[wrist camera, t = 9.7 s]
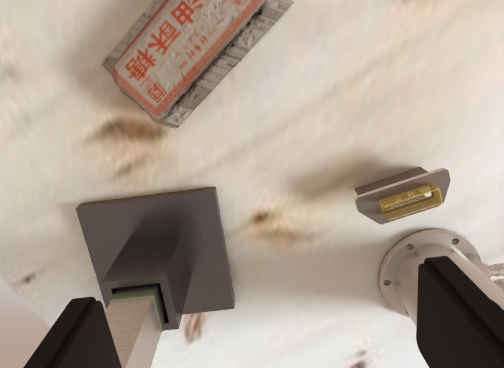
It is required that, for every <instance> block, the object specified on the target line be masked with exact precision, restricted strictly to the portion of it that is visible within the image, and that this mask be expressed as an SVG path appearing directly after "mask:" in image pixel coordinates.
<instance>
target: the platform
mask: <svg viewBox="0 0 504 368" xmlns="http://www.w3.org/2000/svg"><path fill="white" fill-rule="evenodd" d="M449 183H450V176H449V171H448V170H446V169H445V168H440V169H437V170H434V171H431V172H427V171H426V170H424V169H423V168H421V167H419V168H416V169H413V170H410V171H407V172H404V173H401V174H398V175H395V176H392V177H389V178H386V179H383V180H380V181H377V182H374V183H371V184H368V185H365V186H362V187H359V188H356V189H355V191H356V192H357V194H358V196H356V197H355V199H354V201H355V205H356V208H357V210H358V211H359V212H360V213H362V214H364V215H365V216H367V217H369V218H370V219H372V220H374V221H375V222H377V223H379V224H384V223H387V222H390V221H394V220H397V219H400V218H403V217H406V216H409V215H412V214H415V213H419V212H422V211H425V210H428V209H431V208H434V207H437V206H439V205H441V204H442V203H443V202H444V200H445V197H446V193H447V190H448V187H449ZM429 185H430V186H429ZM424 187H425V188H426V187H427V188H426V189H427V190H426V189H425V188H424ZM429 187H430V188H431V189H430V188H429ZM420 188H421V189H422V188H423V189H422V190H423V191H422V190H421V189H420ZM418 189H419V190H418ZM424 189H425V190H426V191H427V192H426V191H425V190H424ZM429 189H430V190H431V191H430V190H429ZM420 190H421V191H422V192H423V193H422V192H421V191H420ZM407 192H408V193H409V192H410V193H409V194H410V195H409V194H408V193H407ZM414 192H415V193H414ZM429 192H431V193H432V195H431V196H430V197H428V198H427V197H426V196H424V195H423V194H426V193H429ZM413 193H414V194H415V195H416V196H415V195H414V194H413ZM407 194H408V195H409V196H410V197H409V196H408V195H407ZM413 195H414V196H413ZM420 195H421V196H422V195H423V196H424V197H423V196H422V197H423V198H424V199H423V198H422V197H421V196H420ZM415 197H416V198H417V197H418V198H417V199H418V200H417V199H416V198H415ZM420 197H421V198H422V199H421V198H420ZM414 198H415V199H416V200H417V201H416V200H415V199H414ZM397 199H398V200H399V201H398V200H397ZM408 199H409V200H410V201H411V202H410V201H409V200H408ZM413 199H414V200H415V201H416V202H415V201H414V200H413ZM420 199H421V200H420ZM396 200H397V201H396ZM405 200H406V201H407V200H408V201H409V202H410V203H409V202H408V201H407V202H408V203H409V204H408V203H407V202H406V201H405ZM401 201H402V202H403V203H404V204H405V205H404V204H403V203H402V202H401ZM413 201H414V202H413ZM398 202H399V203H400V202H401V203H402V204H403V205H404V206H403V205H402V204H401V203H400V204H401V205H402V206H401V205H400V204H399V203H398ZM405 202H406V203H407V204H406V203H405ZM397 203H398V204H399V205H400V206H401V207H400V206H399V205H398V204H397ZM393 204H394V205H395V206H396V207H397V208H396V207H395V206H394V205H393ZM392 205H393V206H394V207H395V208H394V207H393V206H392ZM391 206H392V207H393V208H394V209H393V208H392V207H391ZM390 207H391V208H392V209H391V208H390ZM387 209H388V210H387ZM389 209H390V210H389ZM386 210H387V211H386Z"/></svg>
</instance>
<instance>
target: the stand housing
mask: <svg viewBox="0 0 504 368" xmlns="http://www.w3.org/2000/svg"><path fill="white" fill-rule="evenodd" d="M76 211H77V214H78V217H79V221H80V224H81V227H82V230H83V234H84V237H85V240H86V244H87V247H88V250H89V253H90V257H91V260H92V263H93V266H94V270H95V273H96V276H97V279H98V283H99V286H100V289H101V293H102V296H103V299H104V302H105V306H106V309H107V308H108V306H109V304H110V299H111V297H112V295H113V294H115V293H116V291H117V289H118V288H121V287H130V286H138V285H147V284H155V283H160V287H161V291H162V295H163V299H164V303H165V307H166V311H167V314H166V318H165V321H164V323H165V326H164V329H163V330H172V329H179V325H180V321H181V317H182V314H190V313H199V312H208V311H217V310H225V309H234V306H235V300H234V294H233V288H232V282H231V276H230V270H229V264H228V258H227V252H226V246H225V240H224V234H223V228H222V222H221V216H220V210H219V204H218V198H217V192H216V187H212V188H203V189H195V190H187V191H179V192H171V193H163V194H155V195H147V196H138V197H130V198H122V199H114V200H106V201H98V202H90V203H82V204H80V205H79V206H78V207H77V208H76ZM161 332H162V331H161ZM160 335H161V334H160Z"/></svg>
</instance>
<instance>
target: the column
mask: <svg viewBox="0 0 504 368" xmlns="http://www.w3.org/2000/svg"><path fill="white" fill-rule="evenodd" d="M166 314H167V311H166V307H165V303H164V299H163V295H162V291H161V287H160V283H155V284H147V285H138V286H130V287H121V288H118V289H117V291H116V293H115V294H113V295H112V297H111V299H110V304H109V306H108V308H107V309H106V311H105V315H106V318H107V321H108V325H109V328H110V331H111V334H112V337H113V341H114V344H115V347H116V350H117V354H118V357H119V360H120V363H121V367H122V368H150V367H151V364H152V361H153V358H154V354H155V351H156V348H157V344H158V341H159V338H160V334H161V331H163V329H164V326H165V323H164V321H165V318H166Z"/></svg>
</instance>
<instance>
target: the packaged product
mask: <svg viewBox="0 0 504 368" xmlns="http://www.w3.org/2000/svg"><path fill="white" fill-rule="evenodd" d="M293 3H294V2H293V1H292V0H154V1H153V2H152V4H151V5H150V7H149V9H148V10H147V12H145V13H143V15H142V16H141V17H140V18H139V20H138V21H137V22H136V23H135V24H134V25H133V27H132V28H131V29H130V31H129V32H128V34H127V35H126V36H125V37H124V38H123V39H122V40H121V42H120V43H119V44H118V45H117V46H116V47H115V49H114V50H113V51H112V52H111V54H110V55H109V56H108V57H107V58H106V60H105V61H104V62H103V64H102V65H103V66H104V67H105V68H106V69H107V70H108V71H109V72H110V73H111V74H112V76H113V78H114V82H115V84H117V85H118V86H119V87H120V90H121V92H123V93H124V94H125V95H126V96H128V97H129V98H130V99H132V100H133V101H134V102H135V103H137V104H138V105H139V106H140V107H141V108H142V109H143V110H145V111H146V112H147V113H148V114H149V115H150V117H151V118H152V119H153V120H155V121H156V120H158V121H159V120H160V119H161V120H162V121H163V122H164V123H165V124H167V125H168V126H169V127H171V128H178V127H179V126H180V125H181V124H182V123H183V122H184V121H185V120H186V118H187V117H188V116H189V115H190V114H191V113H192V111H193V110H194V109H195V108H196V107H197V106H198V105H199V104H200V103H201V102H202V101H203V100H204V99H205V98H206V97H207V96H208V95H209V94H210V93H211V92H212V91H213V90H214V89H215V87H216V86H217V85H218V84H219V83H220V82H221V80H222V79H223V78H224V77H225V76H226V75H227V74H228V73H229V72H230V71H231V70H232V69H233V68H234V67H235V66H236V65H237V64H238V63H239V62H240V61H241V60H242V59H243V58H244V57H245V55H246V54H247V53H248V52H249V51H250V50H251V49H252V48H253V47H254V46H255V45H256V44H257V43H258V42H259V40H260V39H261V38H262V37H263V36H264V35H265V34H266V33H267V32H268V31H269V30H270V29H271V28H272V27H273V26H274V25H275V24H276V23H277V22H278V21H279V19H280V18H281V17H282V16H283V15H284V14H285V12H286V11H287V10H288V9H289V8H290V6H291V5H292V4H293Z"/></svg>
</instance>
